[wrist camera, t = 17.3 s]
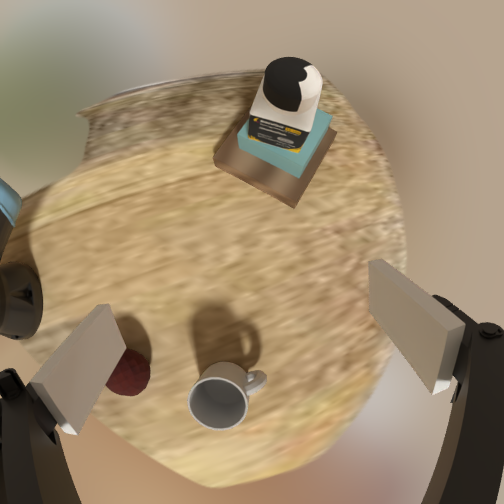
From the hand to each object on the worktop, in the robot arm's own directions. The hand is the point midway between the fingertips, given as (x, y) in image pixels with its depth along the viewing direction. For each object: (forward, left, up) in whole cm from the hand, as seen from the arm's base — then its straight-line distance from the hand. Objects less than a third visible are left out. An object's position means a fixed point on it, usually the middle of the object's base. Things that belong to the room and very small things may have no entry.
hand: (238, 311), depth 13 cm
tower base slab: (-8, +22, -29) cm, 37 cm away
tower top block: (-7, +23, -25) cm, 35 cm away
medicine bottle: (-8, +22, -20) cm, 31 cm away
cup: (+4, -12, -28) cm, 30 cm away
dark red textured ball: (-10, -19, -28) cm, 35 cm away
